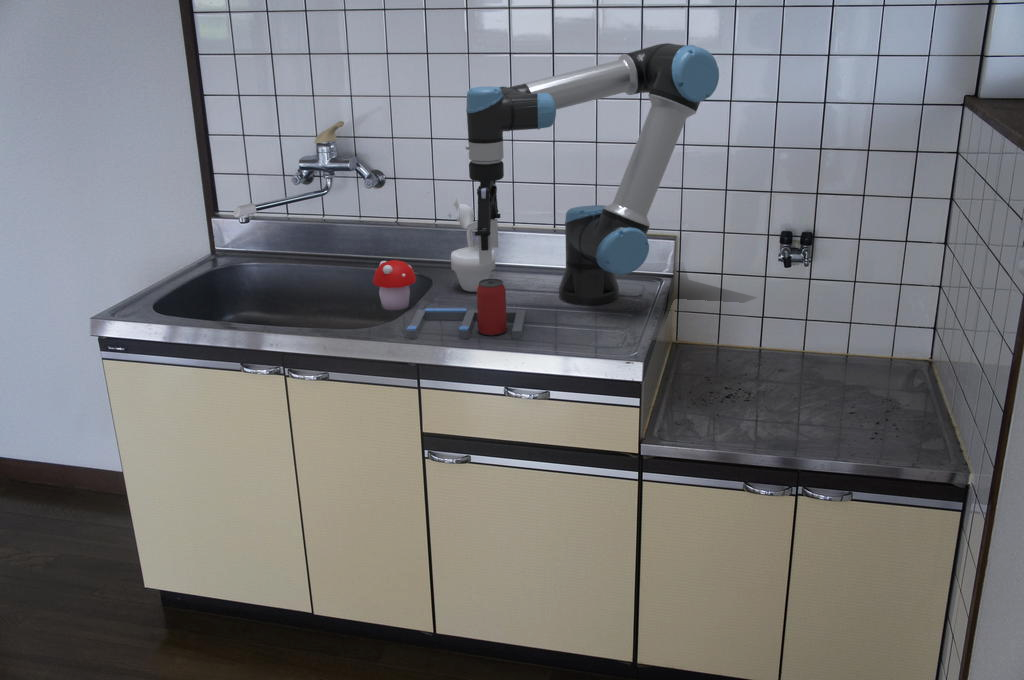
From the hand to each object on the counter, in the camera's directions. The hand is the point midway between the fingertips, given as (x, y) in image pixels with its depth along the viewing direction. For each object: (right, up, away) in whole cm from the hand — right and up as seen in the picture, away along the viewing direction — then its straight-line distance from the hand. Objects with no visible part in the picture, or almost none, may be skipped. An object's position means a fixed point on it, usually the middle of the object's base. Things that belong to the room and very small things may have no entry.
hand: (489, 255), depth 218 cm
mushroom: (-24, -11, +26) cm, 36 cm away
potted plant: (-4, -6, +37) cm, 37 cm away
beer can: (+1, -17, +7) cm, 19 cm away
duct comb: (-5, -16, +9) cm, 19 cm away
